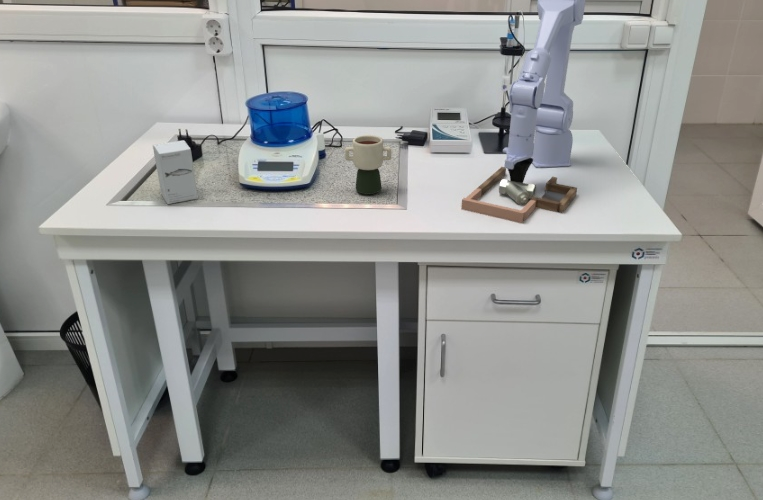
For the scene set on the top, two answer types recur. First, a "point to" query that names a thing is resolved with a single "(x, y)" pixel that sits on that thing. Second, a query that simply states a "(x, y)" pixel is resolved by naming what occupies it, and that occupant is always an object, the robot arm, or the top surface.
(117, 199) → the top surface
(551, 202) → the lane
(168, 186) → the supplement box
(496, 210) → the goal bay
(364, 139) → the character mug
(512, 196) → the pipe fitting
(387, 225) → the top surface
